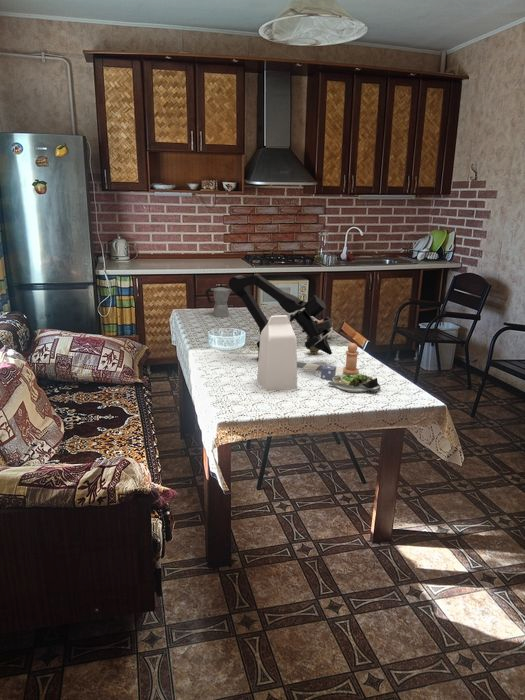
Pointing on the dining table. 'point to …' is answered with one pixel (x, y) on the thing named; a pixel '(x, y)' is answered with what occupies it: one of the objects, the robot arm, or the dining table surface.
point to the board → (317, 367)
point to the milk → (277, 355)
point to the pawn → (351, 360)
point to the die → (328, 372)
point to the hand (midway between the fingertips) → (331, 354)
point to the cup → (313, 349)
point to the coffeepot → (219, 300)
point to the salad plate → (355, 383)
